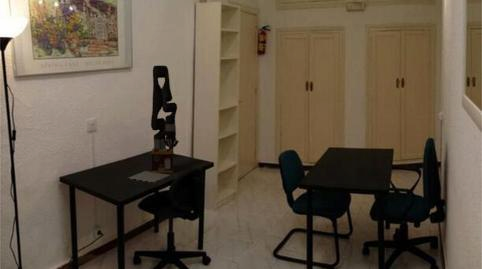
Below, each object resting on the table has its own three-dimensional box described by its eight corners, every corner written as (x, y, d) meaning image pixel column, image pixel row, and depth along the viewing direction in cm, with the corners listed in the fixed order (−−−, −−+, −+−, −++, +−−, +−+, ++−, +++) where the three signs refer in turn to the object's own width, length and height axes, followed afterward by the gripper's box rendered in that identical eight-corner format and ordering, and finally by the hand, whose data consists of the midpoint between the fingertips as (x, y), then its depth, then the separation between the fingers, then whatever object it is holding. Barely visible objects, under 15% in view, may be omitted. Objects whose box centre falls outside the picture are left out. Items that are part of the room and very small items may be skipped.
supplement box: (153, 169, 354) (152, 148, 351) (173, 169, 355) (173, 148, 352) (151, 173, 344) (151, 151, 341) (173, 172, 345) (172, 151, 342)
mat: (127, 178, 332) (127, 177, 332) (145, 171, 349) (145, 171, 349) (153, 183, 322) (153, 182, 322) (170, 175, 339) (169, 175, 339)
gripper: (160, 129, 353) (161, 152, 356) (175, 131, 347) (175, 154, 350) (166, 127, 359) (167, 150, 363) (180, 129, 353) (181, 152, 357)
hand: (171, 152), depth 356 cm, fingers closed
